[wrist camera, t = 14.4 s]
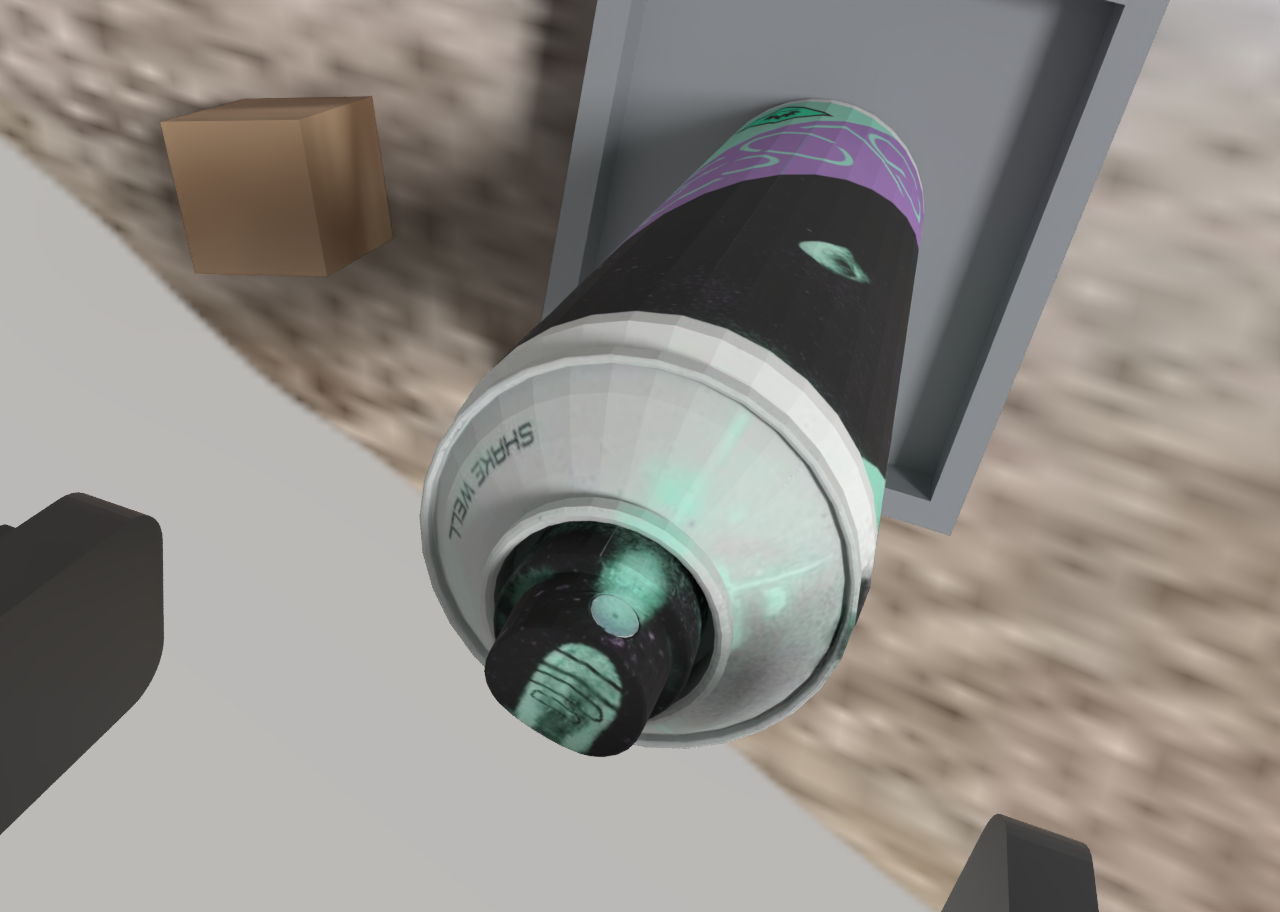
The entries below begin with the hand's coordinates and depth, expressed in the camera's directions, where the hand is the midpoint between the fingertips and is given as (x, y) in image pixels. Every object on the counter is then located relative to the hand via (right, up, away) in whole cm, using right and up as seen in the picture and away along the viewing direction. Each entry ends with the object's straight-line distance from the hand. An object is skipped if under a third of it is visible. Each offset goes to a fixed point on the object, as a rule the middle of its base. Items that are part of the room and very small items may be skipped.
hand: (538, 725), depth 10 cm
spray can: (+5, +9, +18) cm, 21 cm away
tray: (+6, +9, +19) cm, 22 cm away
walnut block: (-8, +11, +22) cm, 26 cm away
